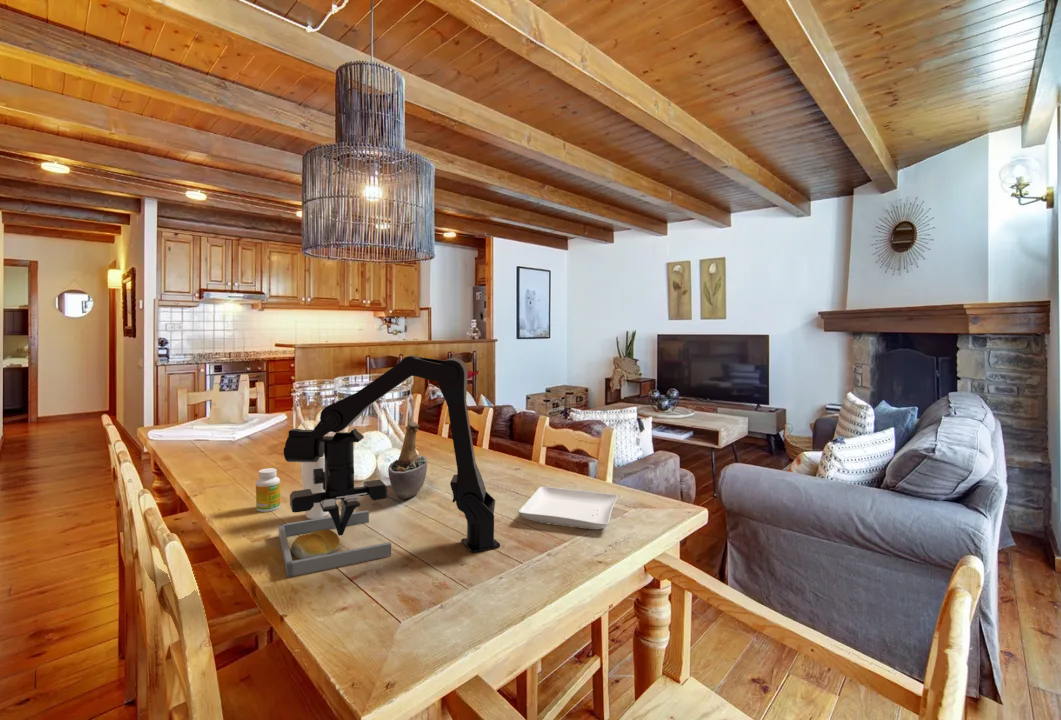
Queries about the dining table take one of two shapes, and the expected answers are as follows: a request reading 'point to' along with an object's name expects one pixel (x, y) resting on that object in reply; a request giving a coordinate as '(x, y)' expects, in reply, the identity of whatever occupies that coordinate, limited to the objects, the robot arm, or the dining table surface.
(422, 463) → the mortar and pestle
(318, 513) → the drinking glass
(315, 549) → the bread roll
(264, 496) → the supplement bottle
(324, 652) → the dining table surface
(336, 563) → the gray three-sided bracket
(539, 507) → the salad plate
